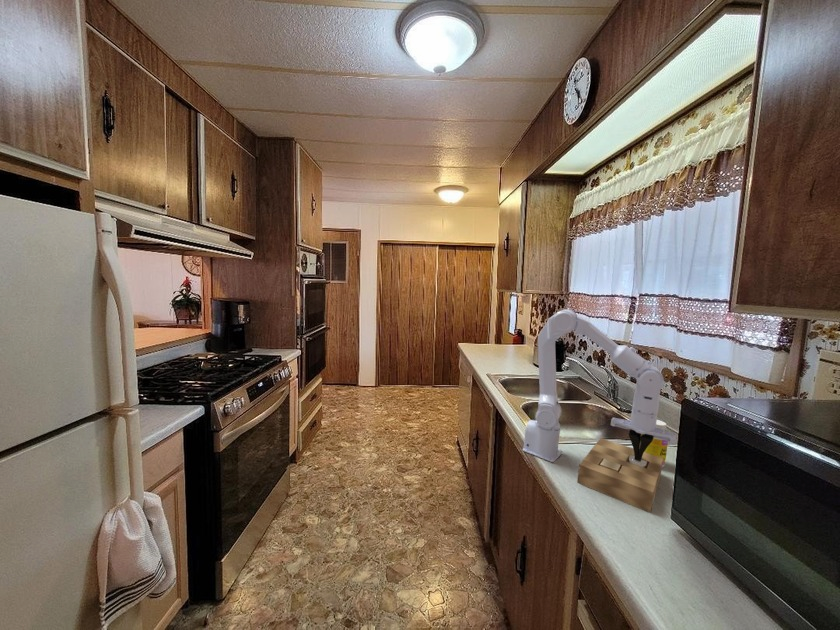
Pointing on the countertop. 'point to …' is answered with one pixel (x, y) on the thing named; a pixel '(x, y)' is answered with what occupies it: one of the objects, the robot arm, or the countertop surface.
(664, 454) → the supplement bottle
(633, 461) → the peg steel
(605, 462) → the peg maple
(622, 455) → the oak block
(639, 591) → the countertop surface
